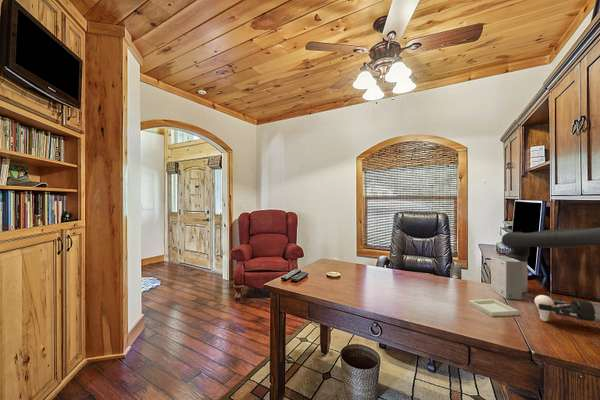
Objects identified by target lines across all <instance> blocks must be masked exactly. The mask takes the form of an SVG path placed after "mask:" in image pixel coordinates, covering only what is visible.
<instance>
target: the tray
mask: <svg viewBox="0 0 600 400" xmlns="http://www.w3.org/2000/svg"><path fill="white" fill-rule="evenodd" d="M468 305H469V306H471V307H473V308H475V309H477V310H478V311H480V312H482V313H484V314H486V315H487V316H490V317H492V318H495V317H511V316H512V317H513V316H519V315H520V310H518V309H516V308H514V307H512V306H510V305H507V304H505V303H503V302H501V301H499V300H497V299H494V298H488V299H487V298H485V299H472V300H471V299H470V300H469V299H468Z"/></svg>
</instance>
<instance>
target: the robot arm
mask: <svg viewBox="0 0 600 400" xmlns="http://www.w3.org/2000/svg"><path fill="white" fill-rule="evenodd" d="M501 242H502V244H503V245H504V246H505V247H507V248H509V249H510V251H508V252H507V253H506V254H505V256H507V257H510V258H513V259H515V260H518V261H521V262H522V294H523V293H528V258H529V256H530V248H533V247H534V248H542V249H543V248H546V249H574V248H579V247H585V246H600V226H599V227H590V228H558V229H557V228H556V229H555V228H554V229H545V230H540V231H533V232H532V231H531V232H522V231H511V232H507V233H505V234H504V235H502V237H501ZM532 299H533V300H532V301H533V304H534V305H536V304H535V302H534V300H535V298H532ZM551 299H552V300H553V302H554V306H552V307H551V305H544V304H539V309H540V310H546V311H550V312H552V313H554V314H555V315H559V316H562V317H563V316H565V317H569V318H573V319H577V320H581V321H587V322H594V323H600V302H595V301H588V300H579V299H573V300H572V302H571V303H569V302H567V301H565V300H564V301H563V299H559V298H551Z"/></svg>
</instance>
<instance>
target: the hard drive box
mask: <svg viewBox="0 0 600 400" xmlns="http://www.w3.org/2000/svg"><path fill="white" fill-rule="evenodd" d="M490 290H492V291H493V292H494V293H497V294H498V295H499V296H501V297H503V299H507V300H518V301H523V293H522V262H521V261H518V260H515V259H513V258H510V257H507V256H506V255H495V254H493V255H490Z"/></svg>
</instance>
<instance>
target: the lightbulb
mask: <svg viewBox="0 0 600 400" xmlns="http://www.w3.org/2000/svg"><path fill="white" fill-rule="evenodd" d="M552 299H553V298H551V297H549V296H548V295H546V294H545V295H544V294H539V295H536V296H535V300H534V302H535V304H534V305H535V306H536V307H537V310H538V314H539V319H540V320H541V321H543V322H548V321H549V316H550V312H551V311H546V310H540V309H539V304H544V305H551V307H552V306H554V302H553V300H552ZM534 302H533V303H534Z"/></svg>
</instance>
